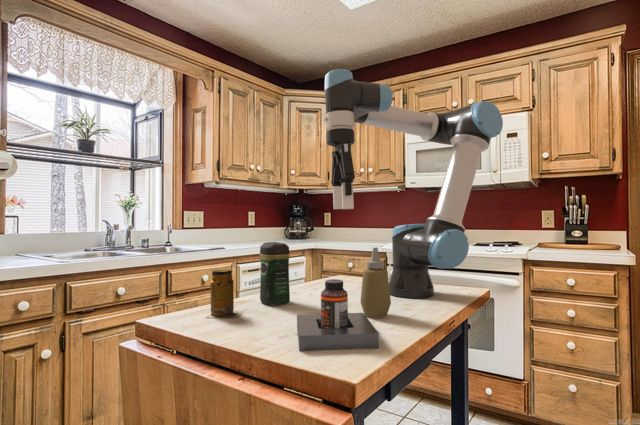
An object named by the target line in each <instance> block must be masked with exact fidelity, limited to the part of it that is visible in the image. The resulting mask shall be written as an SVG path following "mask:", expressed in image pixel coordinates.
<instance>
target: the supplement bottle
mask: <svg viewBox="0 0 640 425" xmlns="http://www.w3.org/2000/svg"><path fill="white" fill-rule="evenodd" d="M348 295H349V294H348V291H347V290H345V289H344V280H342V279H335V278H334V279H332V278H331V279H326V280H325V282H324V289H323V290H322V291H321V293H320V314H321V329H328V328H348V313H349V312H348V311H349V307H348V306H349V304H348V303H349V301H348V300H349V298H348Z"/></svg>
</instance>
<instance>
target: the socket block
mask: <svg viewBox="0 0 640 425" xmlns="http://www.w3.org/2000/svg"><path fill="white" fill-rule="evenodd" d="M296 328H297V329H296V330H297V332H296V333H297V340H298V343H297V344H298V351H299V352H313V351H338V350H361V349H362V350H363V349H380V336H379V335H380V334H379V332H378V330H377V329H376V328H375V327H374V325H373V324H372V323H371V321H370V320H369V319H368V317H367V316H365V315H364V312H348V328H328V329H321V313H315V314H314V313H310V314H307V313H306V314H296Z"/></svg>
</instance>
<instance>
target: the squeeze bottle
mask: <svg viewBox="0 0 640 425" xmlns="http://www.w3.org/2000/svg"><path fill="white" fill-rule="evenodd" d="M389 281H390V279H389V271H388V270H387V269H385V261H383V260H381V257H380V254H379V249H378V247H372V252H371V257H370V260H366V268H365V269H364V270H363V271H362V281H361V291H360V292H361V293H360V302H359V303H360V305H361V306H360V307H361V308H362V310H363V312H362V313H364V315H365V316H366V317H367V318H371V319H382V318H386V317H387V316H388V313H389V311H390V307H391V305H392V302H391V301H392V300H391V295H390V290H389Z"/></svg>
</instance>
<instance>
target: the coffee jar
mask: <svg viewBox="0 0 640 425" xmlns="http://www.w3.org/2000/svg"><path fill="white" fill-rule="evenodd" d="M259 258H260V285H259V286H260V291H259V300H260V302H261V303H262V304H265V305H267V306H279V307H280V306H284V305H285V304H289V303H290V301H291V297H290V296H291V295H290V271H289V270H290V269H289V268H290V267H289V263H290V262H289V261H290V247H289V245H288V244H286V243H284V242H283V243H282V242H279V241H270V242H269V241H267V242H264V243H263V244H261V245H260V248H259Z"/></svg>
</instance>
